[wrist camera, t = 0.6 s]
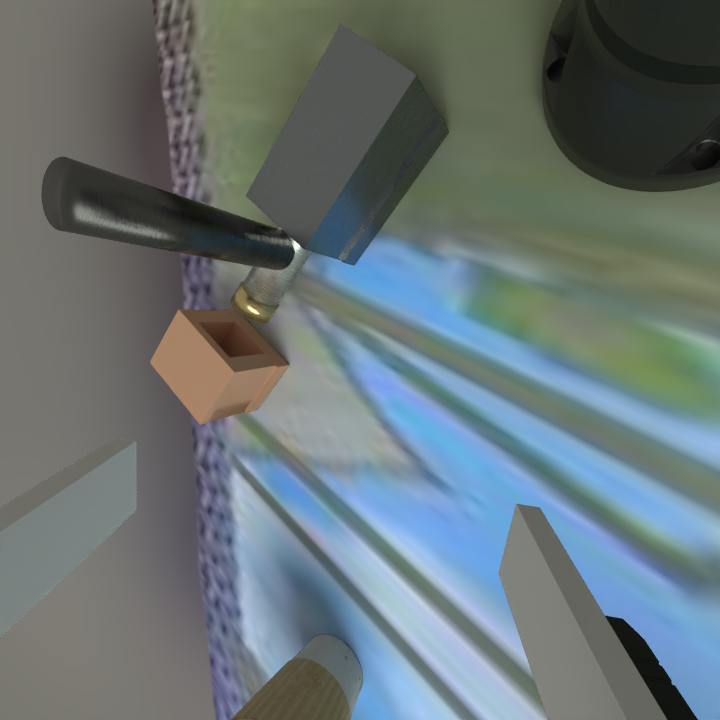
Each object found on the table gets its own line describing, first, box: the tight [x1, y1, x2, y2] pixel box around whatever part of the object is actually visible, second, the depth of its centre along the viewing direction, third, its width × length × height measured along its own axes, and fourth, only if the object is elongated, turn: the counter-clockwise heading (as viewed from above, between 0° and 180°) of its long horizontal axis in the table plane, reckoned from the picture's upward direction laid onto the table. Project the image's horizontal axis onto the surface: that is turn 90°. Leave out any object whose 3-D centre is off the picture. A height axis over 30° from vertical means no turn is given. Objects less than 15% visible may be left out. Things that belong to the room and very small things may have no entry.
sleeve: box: [246, 24, 449, 265], centre depth 29 cm, size 12×7×7 cm, turn 140°
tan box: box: [150, 309, 289, 425], centre depth 36 cm, size 6×8×7 cm
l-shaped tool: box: [42, 157, 312, 324], centre depth 23 cm, size 20×4×18 cm, turn 140°
